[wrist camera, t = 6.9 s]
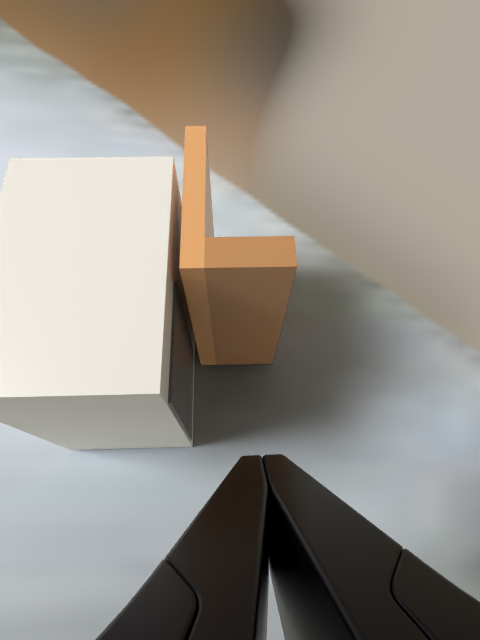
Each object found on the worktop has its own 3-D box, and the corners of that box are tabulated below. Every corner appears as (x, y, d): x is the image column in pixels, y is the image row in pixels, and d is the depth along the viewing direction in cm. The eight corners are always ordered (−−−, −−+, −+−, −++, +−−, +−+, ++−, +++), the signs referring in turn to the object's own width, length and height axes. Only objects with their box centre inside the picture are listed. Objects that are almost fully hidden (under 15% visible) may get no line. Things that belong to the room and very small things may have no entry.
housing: (194, 446, 21) (163, 393, 11) (71, 450, 20) (-59, 398, 11) (198, 267, 25) (177, 128, 16) (96, 269, 25) (18, 129, 16)
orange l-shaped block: (272, 363, 22) (297, 266, 13) (201, 365, 22) (179, 268, 13) (266, 260, 25) (282, 125, 16) (202, 261, 25) (185, 126, 16)
